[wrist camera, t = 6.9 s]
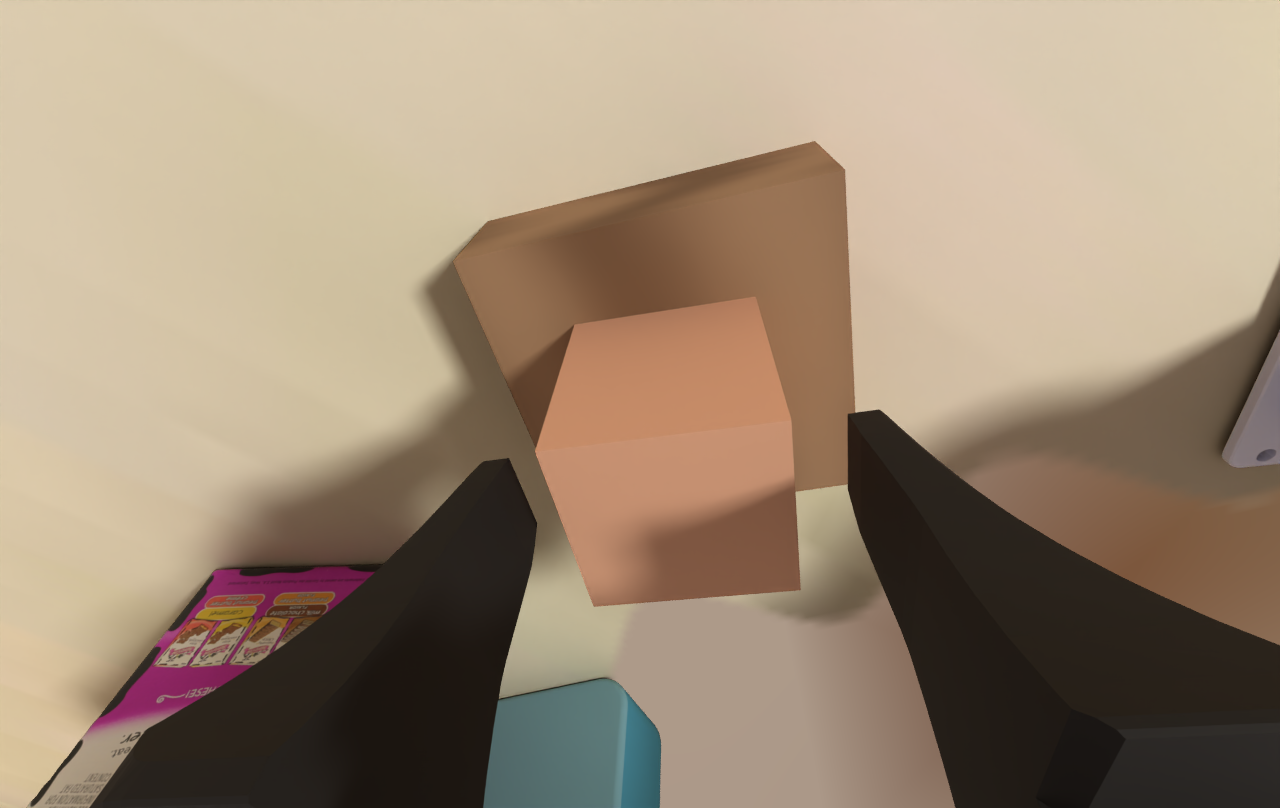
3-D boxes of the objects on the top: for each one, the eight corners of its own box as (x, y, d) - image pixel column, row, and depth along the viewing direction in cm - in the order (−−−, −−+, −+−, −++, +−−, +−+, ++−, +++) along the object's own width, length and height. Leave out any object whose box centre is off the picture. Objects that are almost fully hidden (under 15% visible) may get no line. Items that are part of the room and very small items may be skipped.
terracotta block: (755, 296, 14) (791, 420, 10) (768, 442, 16) (800, 589, 12) (574, 324, 14) (534, 452, 10) (613, 460, 17) (593, 606, 13)
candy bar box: (266, 630, 28) (-106, 1196, 15) (215, 563, 25) (-302, 1186, 12) (484, 629, 27) (297, 1235, 14) (456, 559, 24) (185, 1236, 11)
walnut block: (811, 138, 15) (845, 169, 12) (831, 413, 20) (858, 482, 17) (491, 217, 16) (452, 261, 13) (583, 453, 21) (569, 523, 18)
